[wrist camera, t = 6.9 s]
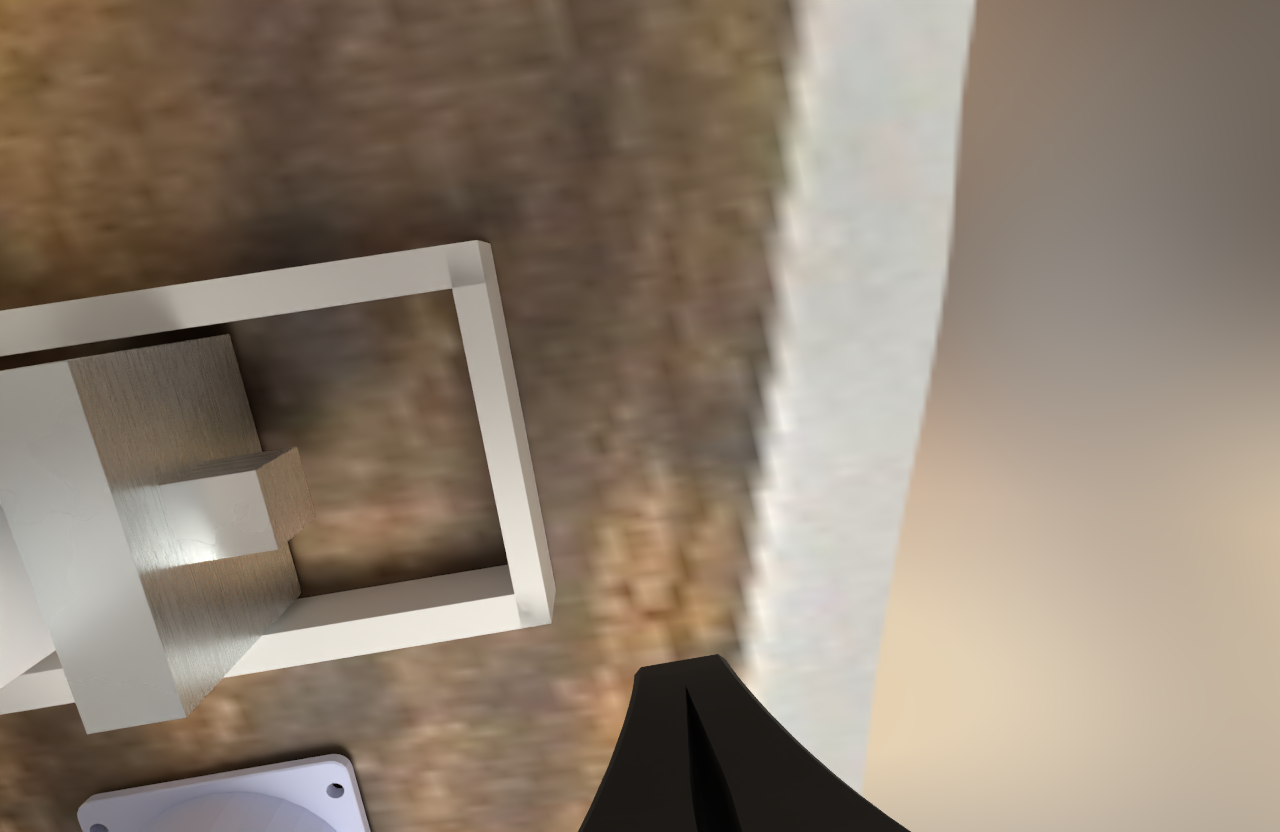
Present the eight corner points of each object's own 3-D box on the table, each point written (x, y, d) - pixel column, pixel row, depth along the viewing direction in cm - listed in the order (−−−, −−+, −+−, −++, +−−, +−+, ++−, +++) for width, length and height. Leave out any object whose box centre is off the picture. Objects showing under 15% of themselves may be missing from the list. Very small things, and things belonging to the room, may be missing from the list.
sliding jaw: (306, 322, 18) (179, 344, 12) (371, 581, 19) (284, 701, 14) (132, 348, 17) (-74, 382, 12) (213, 606, 19) (62, 738, 14)
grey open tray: (490, 243, 18) (437, 229, 12) (555, 589, 20) (538, 721, 14) (-250, 353, 17) (-689, 395, 11) (-100, 696, 19) (-403, 881, 13)
